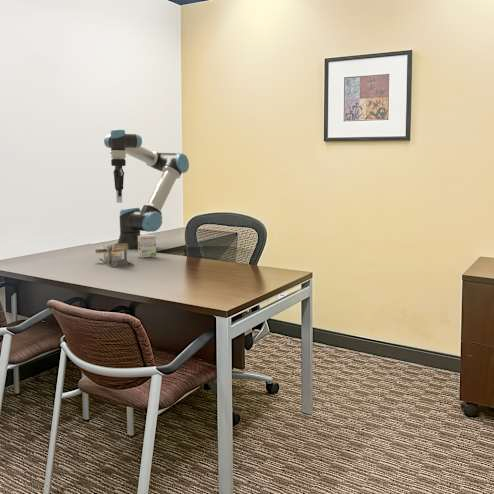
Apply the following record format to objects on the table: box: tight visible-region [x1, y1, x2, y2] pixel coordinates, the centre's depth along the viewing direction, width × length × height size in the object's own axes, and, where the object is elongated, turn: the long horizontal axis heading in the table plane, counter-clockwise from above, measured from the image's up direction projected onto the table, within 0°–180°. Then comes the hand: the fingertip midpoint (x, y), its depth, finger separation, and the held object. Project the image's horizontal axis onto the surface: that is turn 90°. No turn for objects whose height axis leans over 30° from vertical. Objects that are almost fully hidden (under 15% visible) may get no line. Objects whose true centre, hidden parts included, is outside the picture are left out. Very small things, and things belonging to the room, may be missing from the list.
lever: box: [95, 243, 129, 254], centre depth 279 cm, size 18×12×3 cm, turn 28°
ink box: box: [137, 234, 157, 258], centre depth 299 cm, size 9×5×12 cm, turn 122°
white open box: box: [98, 246, 123, 262], centre depth 293 cm, size 9×10×6 cm
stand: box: [102, 247, 135, 269], centre depth 279 cm, size 17×11×8 cm, turn 28°
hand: (119, 202), depth 305 cm, fingers closed
